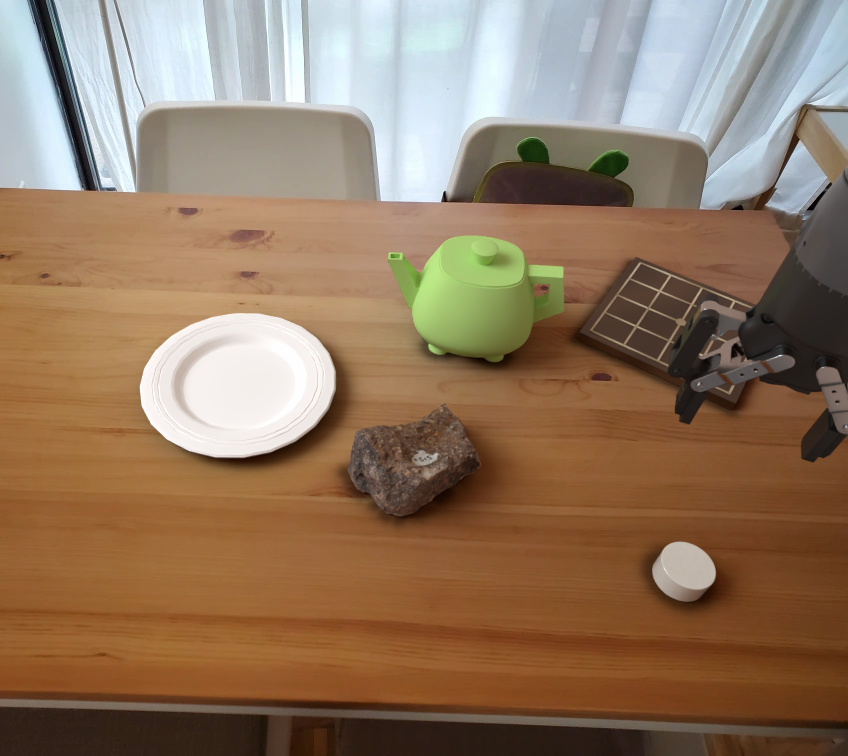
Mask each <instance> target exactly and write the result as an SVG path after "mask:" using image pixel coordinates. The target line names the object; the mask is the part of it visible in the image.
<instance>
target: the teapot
mask: <svg viewBox="0 0 848 756" xmlns="http://www.w3.org/2000/svg"><path fill="white" fill-rule="evenodd" d="M387 263H388V265H389V267H390V270H391V273H392V275H393V276H394V278H395V281H396V283H397V286H398V288H399V290H400V292H401V294H402V296H403V298H404V300H405V303H406V305H407V307H408V308H409V309H411V316H412V321H413V325H414V327H415V329H416V331H417V332H418V334H419V335H420V336H421V337H422V339H423V340H424V341H425V342H426V343H427V344H428V349H429V351H430V352H431V353H433V354H434V355H438V356H439V355H440V356H442V355H445V354H447V353H450V354H452V355H456V356H462V357H467V358H484V359H485V361H487V362H491V363H497V362H500V361H503V359H504V357H505V355H507V354H510V353H512V352H514V351H516V350H517V349H519V348H520V347H522V346H523V345H524V344H526V341H527V340H528V339H529V337H530V335H531V331H532V328H533V324H534V323H536V322H539V321H542V320H544V319H545V320H546V319H548V318H550V317H554V316H557V315H558V314H562V313H565V277H564V275H565V274H564V273H565V272H564V270H565V269H564V266H561V265H542V264H528V261H527V259H526V256H525V254H524V252H523V250H522V249H521V248H520V247H518V246H517V245H515V244H514V243H512V242H509V241H507V240H503V239H500V238H496V237H493V236H492V237H491V236H484V235H483V236H482V235H458V236H453V237H450V238H448V239H446V240H445V241H444V242H442V244H441V245H440V246H438V248H437V249H436V250H435V251H434V253H433V254H432V255H431V256H430V258H429V259H428V260H427V262H425V265H424V267H423V269H422V270H421V271H418V270H417V269H416V268H415V267H414V265H413V264H412V263H411V262H410V261H409V260H408V258H406V256H405V255H404V252H395V251H394V252H393V251H391V252H390V251H389V252H388V254H387ZM534 285H548V293H545V294H541V295H539V296H535V288H534V287H535V286H534Z"/></svg>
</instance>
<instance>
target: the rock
mask: <svg viewBox="0 0 848 756" xmlns="http://www.w3.org/2000/svg"><path fill="white" fill-rule="evenodd" d="M353 438H354V439H353V443H352V447H351V450H350V454H349V457H350V458H349V465H348V466H347V473H348V475H349V477H350V480H351V481H352V483H353V485H354V486H355V488H356V489H357V490H358V491H360V492H362V493H368V494H369V495H370V497H372V500H373V501H374V502H375V505H377V506H378V507H379V508H380V509H381V510H382V511H383V512H384V513H385V514H387V515H393V516H396V517H405V516H408V515H412V514H415V513H417V511H419V510H420V508H422V507H423V506H425V505H427V504H428V503H430V502H432V501H433V499H434V498H436V497H437V496H438V495H440V494H441V493H442V492H445V491H446V490H447V489H450V488H452V487H453V486H456V484H457V483H458V482H459V481H461V480H463V478H464V477H466V476H468V475H469V476H470V475H473V474H474V473H476V472H477V471H478V470H480V468H481V466H482V463H481V460H480V456H479V455H480V454H479V453H478V452H477V449H476V448H475V446H474V443H473V442H472V441H471V440H470V439H469V438H468V436H467V433H466V428H465V427H464V424H463V422H462V421H461V419H460V417H458V416H457V415H456V414H454V413H453V412H452V410H451V409H450V407H448V406H447V404H446V403H445V402H441V403H440V404H439V405H437V407H435V408H434V409H433V410H432V411H431V412H430V413H428V414H426V415H424V416H422V417H420V418H419V419H418V420H415V421H413V422H408V423H405V424H403V423H402V424H397V425H385V424H381V425H380V424H379V425H372V426H370V427H364V428H359V429H358V430H357V431H355V434H354V437H353Z"/></svg>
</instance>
